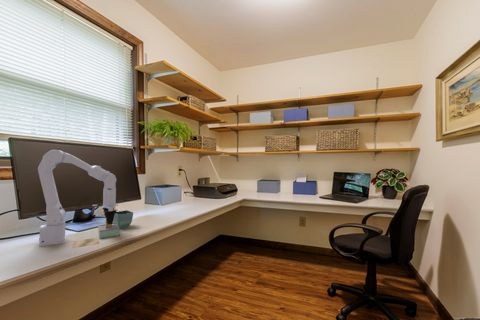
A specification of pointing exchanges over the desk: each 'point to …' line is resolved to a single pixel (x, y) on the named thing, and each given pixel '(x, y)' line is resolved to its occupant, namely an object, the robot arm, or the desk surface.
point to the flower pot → (123, 218)
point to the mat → (85, 242)
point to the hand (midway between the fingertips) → (109, 222)
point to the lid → (108, 227)
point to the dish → (109, 233)
